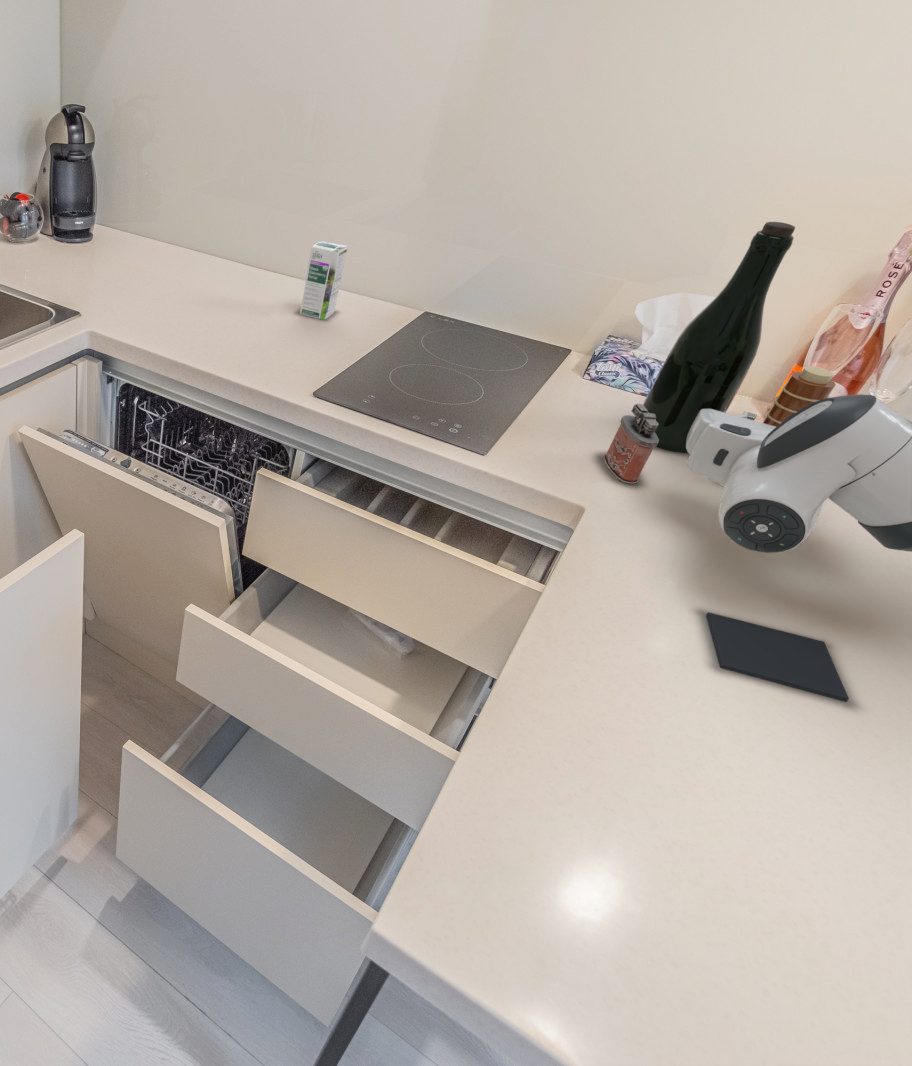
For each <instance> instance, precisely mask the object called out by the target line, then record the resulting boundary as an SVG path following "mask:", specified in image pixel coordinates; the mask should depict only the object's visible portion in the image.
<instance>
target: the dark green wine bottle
mask: <svg viewBox="0 0 912 1066" xmlns="http://www.w3.org/2000/svg"><path fill="white" fill-rule="evenodd" d="M795 229H796V226H795V225H793V224H790V223H786V222H781V221H767V222H765V224H764V225H763V226H762V229H761V230H758V231H757V232H756V233H755V234H754V235H753V236H752V238H751V239H750V242H749V246H748V248H747V250H746V252H745V254H744V256H743V257H742V259H741V261H740V263H739V265H738V266H737V268H736V269H735V271H734V273H733V274H732V276H731V278H730V279H729V280H728V282H727V283H726V285H725V286H724V287H723V288H722V290H721V291H720V292H719V293H718V295H716V296H715V298H714V299H713V300H712V301H711V302H710V303H708V305H706V306H705V307H704V308H703V309H702V310H701V311H700V312H699V313H698V314H697V315H696V316H695V317H694V318H693V319H692V320H691V321H689V323H688V324H687V325H686V327H684V329H683V330H682V332H681V333H680V334H679V336H678V337H677V339H676V340H675V343H674V344H673V346H672V348H671V350H670V351H669V353H668V355H667V357H666V358H665V360H664V362H663V364H662V366H661V367H660V370H659V371H658V374H657V376H656V377H655V379H654V381H653V384H652V385H651V386H650V389H649V391H648V393H647V395H646V397H645V398H644V400H643V402H642V403H641V404H642V405H643V406H644V407H645V408H646V409H647V410H648V412H649V413H652V414H655V415H656V422H657V423H658V426H657V428H656V430H655V431H654V432H655V433H656V435H657V437H658V439H659V442H658V444H657V446H656V447H655V448H659V449H663V450H666V451H669V452H670V451H671V452H675V453H685V454H689V453H688V451H687V449H686V440H687V435H688V432H689V430H690V428H691V426H692V424H693V422H694V420H695V418H696V416H697V415H698V413H699V411H700V410H701V409H714V410H717V411H721V412H724V413H728V410H729V408H730V406H731V404H732V403H733V401H734V399H735V397H736V396H737V393H738V392H739V390H740V387H741V386H742V384H743V382H744V380H745V378H746V376H747V375H748V372H749V370H750V369H751V367H752V364H753V362H754V360H755V358H756V356H757V353H758V350H759V347H760V343H761V338H762V329H763V317H764V309H765V303H766V299H767V295H768V292H769V290H770V287H771V284H772V282H773V280H774V278H775V276H776V273H777V271H778V269H779V267H780V265H781V264H782V261H783V260H784V258H785V256H786V254H787V253H788V251H789V250H790V249H791V247H792V245H793V243H794V236H793V233H794V232H795Z"/></svg>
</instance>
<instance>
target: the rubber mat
mask: <svg viewBox="0 0 912 1066" xmlns="http://www.w3.org/2000/svg"><path fill="white" fill-rule="evenodd" d="M706 620H707V624H708V628H709V631H710V634H711V639H712V643H713V646H714V650H715V653H716V658H717V661H718V665H719V668H720V669H724V670H728V671H732V672H735V673H739V674H742V675H746V676H749V677H753V678H756V679H760V680H764V681H768V682H771V683H775V684H779V685H782V686H786V687H790V688H793V689H796V690H797V689H798V690H801V691H805V692H808V693H812V694H814V695H815V694H816V695H820V696H823V697H827V698H830V699H834V700H838V701H841V702H844V703H847V702H848V701H849V699H850V698H849V695H848V693H847V691H846V689H845V686H844V685H843V682H842V680H841V677H840V675H839V673H838V671H837V668H836V666H835V663H834V661H833V659H832V656H831V654H830V653H829V649H828V648H827V646H826V643H825V641H822V640H820V639H815V638H811V637H808V636H803V635H799V634H795V633H793V632H792V633H791V632H787V631H783V630H780V629H776V628H772V627H768V626H765V625H759V624H756V623H753V622H748V621H744V620H740V619H736V618H733V617H728V616H726V615H725V616H724V615H720V614H717V613H712V612H709V611H708V612H707V613H706Z"/></svg>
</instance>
